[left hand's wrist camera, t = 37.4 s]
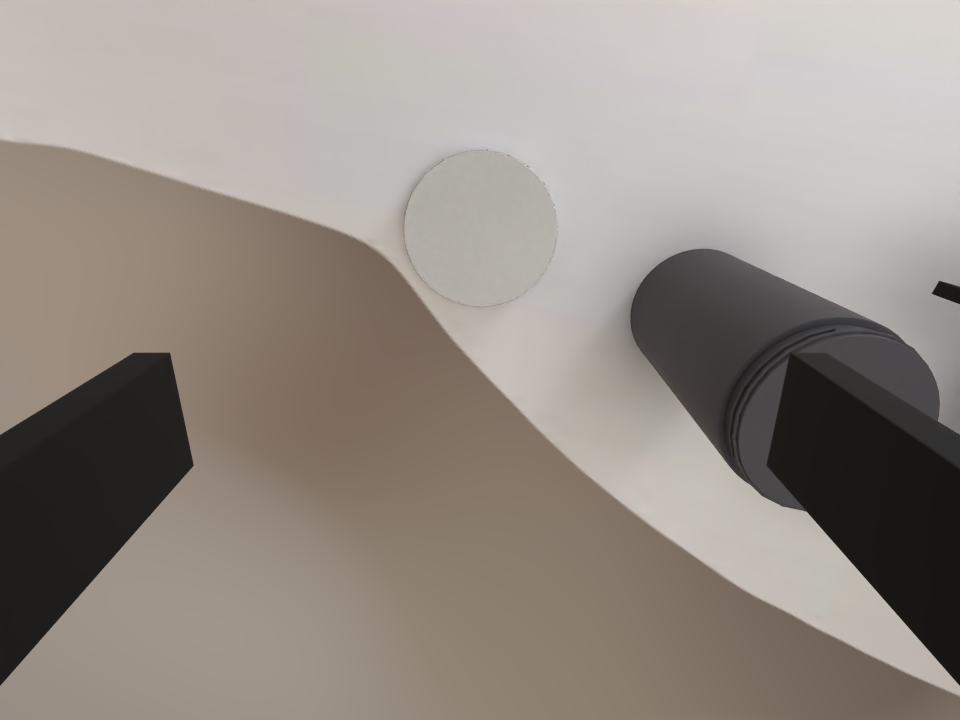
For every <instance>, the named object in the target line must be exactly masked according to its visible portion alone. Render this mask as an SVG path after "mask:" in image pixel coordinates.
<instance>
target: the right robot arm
mask: <svg viewBox="0 0 960 720" xmlns="http://www.w3.org/2000/svg"><path fill="white" fill-rule="evenodd" d="M932 294H934V295H937V296H939V297H942V298H945V299H947V300H950V301H953V302H956V303H958V304H960V287H959V286H956V285H952V284H949V283H945V282H941V281H939V282H938V284H937V286H936V287H935V289H934V291H933V293H932Z"/></svg>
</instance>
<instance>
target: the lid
mask: <svg viewBox="0 0 960 720" xmlns="http://www.w3.org/2000/svg"><path fill="white" fill-rule="evenodd" d="M510 156H511V155H509V154H508V156H507V155H504V154H502V153H497V152H493V151H488V149H487V150H486V151H483V150H479V151H469V152H466V151H464V153H460V154H457V155H454V156H452V157H450V158H448V159H446V160H445V158H444V159H443V161H442V162H440V163H439V164H438V165H436V166H435V167H433V168H432V169H431V170H430V171H429V172H426V173H425V176H424V177H423V178H422V179H421V181H420V182H419V183H418V185H417V186H416V188H415V189H414V191H412V195H411V197H410V200H409V202H408V206H407V209H406V212H405V220H404V237H405V244H406V248H407V252H408V255H409V258H410V260H411V262H412V264H413V266H414V268H415V270H416V271H417V273H418V274H419V276H420V277H421V278H422V279H423V281H424V282H425V283H426V284H427V285H428V286H429V287H430V288H432V289H433V290H434V291H435V292H437V293H438V294H440V295H441V296H443V297H445V298H447V299H449V300H451V301H453V302H456V303H459V304H463V305H468V306H478V307H482V306H493V305H499V304H502V303H505V302H508V301H510V300H512V299H515V298H517V297H518V296H520V295H522V294H523V293H525V292H526V291H527V290H528V289H530V288H531V287H532V286H533V285H534V284H535V283H536V282H537V281H538V280H539V279H540V277H541V276H542V275H543V273H544V272H545V270H546V269H547V267H548V265H549V263H550V261H551V258H552V256H553V253H554V250H555V246H556V240H557V228H558V226H557V218H556V212H555V208H554V206H555V205H554V203H553V201H552V199H551V197H550V194H549V192H548V191H547V189H546V187H545V184H544V183H543V182H542V181H541V180H540V179H539V178H538V176H537V175H536V174H535V173H534V172H533V171H532V170H531V169H530V167H529V166H525V165H524V164H523V163H521V162H519V161H517V160H516V159H514V158H512V157H510Z"/></svg>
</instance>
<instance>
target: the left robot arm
mask: <svg viewBox="0 0 960 720" xmlns="http://www.w3.org/2000/svg"><path fill="white" fill-rule="evenodd" d="M766 466H767V467H768V468H769V469H770V470H771V471H772V473H773V474H774V475H775V476H776V477H777V478H778V479H779V480H780V482H781V483H782V484H783V485H784V486H785V487H786V488H787V490H788V491H789V492H790V493H791V494H792V495H793V496H794V498H795V499H796V500H797V501H798V502H799V503H800V504H801V506H802V507H803V508H804V509H805V510H806V511H807V512H808V513H809V515H810V516H811V517H812V518H813V519H814V520H815V521H816V523H817V524H818V525H819V526H820V527H821V528H822V529H823V531H824V532H825V533H826V534H827V535H828V536H829V537H830V539H831V540H832V541H833V542H834V543H835V544H836V545H837V546H838V548H839V549H840V550H841V551H842V552H843V553H844V554H845V556H846V557H847V558H848V559H849V560H850V561H851V562H852V564H853V565H854V566H855V567H856V568H857V569H858V570H859V572H860V573H861V574H862V575H863V576H864V577H865V578H866V579H867V581H868V582H869V583H870V584H871V585H872V586H873V587H874V589H875V590H876V591H877V592H878V593H879V594H880V595H881V597H882V598H883V599H884V600H885V601H886V602H887V603H888V605H889V606H890V607H891V608H892V609H893V610H894V611H895V612H896V614H897V615H898V616H899V617H900V618H901V619H902V620H903V622H904V623H905V624H906V625H907V626H908V627H909V628H910V630H911V631H912V632H913V633H914V634H915V635H916V636H917V638H918V639H919V640H920V641H921V642H922V643H923V644H924V645H925V647H926V648H927V649H928V650H929V651H930V652H931V653H932V655H933V656H934V657H935V658H936V659H937V660H938V661H939V663H940V664H941V665H942V666H943V667H944V668H945V669H946V671H947V672H948V673H949V674H950V675H951V676H952V677H953V678H954V680H955V681H956V682H957V683H958V684H959V685H960V435H959V434H957V433H956V432H954V431H952V430H951V429H949V428H948V427H946V426H944V425H943V424H941V423H939V422H938V421H936V420H935V419H933V418H931V417H930V416H928V415H926V414H925V413H923V412H922V411H920V410H918V409H917V408H915V407H913V406H912V405H910V404H909V403H907V402H905V401H904V400H902V399H900V398H899V397H897V396H896V395H894V394H892V393H891V392H889V391H887V390H886V389H884V388H883V387H881V386H879V385H878V384H876V383H874V382H873V381H871V380H870V379H868V378H866V377H865V376H863V375H861V374H860V373H858V372H857V371H855V370H853V369H852V368H850V367H848V366H847V365H845V364H844V363H842V362H840V361H839V360H837V359H835V358H834V357H832V356H831V355H829V354H827V353H790V355H789V360H788V365H787V370H786V374H785V379H784V384H783V389H782V393H781V398H780V403H779V408H778V412H777V417H776V422H775V427H774V431H773V436H772V441H771V446H770V451H769V455H768V460H767V465H766ZM192 467H193V460H192V455H191V451H190V446H189V441H188V436H187V432H186V427H185V422H184V417H183V412H182V408H181V403H180V398H179V393H178V389H177V384H176V379H175V374H174V370H173V365H172V360H171V355H170V353H133V354H131V355H129V356H128V357H126V358H125V359H123V360H121V361H120V362H118V363H117V364H115V365H113V366H112V367H110V368H108V369H107V370H105V371H103V372H102V373H100V374H99V375H97V376H95V377H94V378H92V379H90V380H89V381H87V382H86V383H84V384H82V385H81V386H79V387H77V388H76V389H74V390H73V391H71V392H69V393H68V394H66V395H65V396H63V397H61V398H60V399H58V400H56V401H55V402H53V403H51V404H50V405H48V406H47V407H45V408H43V409H42V410H40V411H39V412H37V413H35V414H34V415H32V416H30V417H29V418H27V419H25V420H24V421H22V422H21V423H19V424H17V425H16V426H14V427H12V428H11V429H9V430H8V431H6V432H4V433H3V434H1V435H0V685H1V684H2V683H3V682H4V681H5V680H6V678H7V677H8V676H9V675H10V674H11V673H12V672H13V671H14V669H15V668H16V667H17V666H18V665H19V664H20V663H21V661H22V660H23V659H24V658H25V657H26V656H27V655H28V653H29V652H30V651H31V650H32V649H33V648H34V647H35V645H36V644H37V643H38V642H39V641H40V640H41V639H42V637H43V636H44V635H45V634H46V633H47V632H48V631H49V630H50V628H51V627H52V626H53V625H54V624H55V623H56V622H57V620H58V619H59V618H60V617H61V616H62V615H63V614H64V612H65V611H66V610H67V609H68V608H69V607H70V606H71V605H72V603H73V602H74V601H75V600H76V599H77V598H78V597H79V595H80V594H81V593H82V592H83V591H84V590H85V589H86V587H87V586H88V585H89V584H90V583H91V582H92V581H93V579H94V578H95V577H96V576H97V575H98V574H99V573H100V572H101V570H102V569H103V568H104V567H105V566H106V565H107V564H108V562H109V561H110V560H111V559H112V558H113V557H114V556H115V554H116V553H117V552H118V551H119V550H120V549H121V548H122V546H123V545H124V544H125V543H126V542H127V541H128V540H129V539H130V537H131V536H132V535H133V534H134V533H135V532H136V531H137V529H138V528H139V527H140V526H141V525H142V524H143V523H144V521H145V520H146V519H147V518H148V517H149V516H150V515H151V513H152V512H153V511H154V510H155V509H156V508H157V507H158V506H159V504H160V503H161V502H162V501H163V500H164V499H165V498H166V496H167V495H168V494H169V493H170V492H171V491H172V490H173V488H174V487H175V486H176V485H177V484H178V483H179V482H180V480H181V479H182V478H183V477H184V476H185V475H186V474H187V472H188V471H189V470H190V469H191V468H192Z"/></svg>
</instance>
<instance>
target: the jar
mask: <svg viewBox="0 0 960 720" xmlns="http://www.w3.org/2000/svg"><path fill="white" fill-rule="evenodd" d="M631 328H632V332H633V336H634V339H635V341H636V343H637V345H638V346H639V348H640V350H641V351H642V352H643V354H644V355H645V356H646V358H647V359H648V360H649V361H650V363H651V364H652V365H653V367H654V368H655V369H656V371H657V372H658V373H659V375H660V376H661V377H662V379H663V380H664V381H665V382H666V384H667V385H668V386H669V388H670V389H671V390H672V392H673V393H674V394H675V396H676V397H677V398H678V399H679V401H680V402H681V403H682V405H683V406H684V407H685V409H686V410H687V411H688V413H689V414H690V415H691V416H692V418H693V419H694V420H695V422H696V423H697V424H698V426H699V427H700V428H701V430H702V431H703V432H704V433H705V435H706V436H707V437H708V439H709V440H710V441H711V443H712V444H713V445H714V447H715V448H716V449H717V450H718V452H719V453H720V454H721V456H722V457H723V458H724V460H725V461H726V462H727V464H728V465H729V466H730V467H731V469H732V470H733V471H734V472H735V473H736V474H737V475H738V476H739V477H740V478H742V479H743V480H744V481H745V482H747V483H749V484H750V485H751V486H752V487H753V488H754V489H755V490H757V491H758V492H759V493H760V494H761V495H762V496H763V497H765V498H767V499H769V500H771V501H773V502H775V503H777V504H779V505H781V506H783V507H788V508H793V509H798V510H803V511H806V510H805V509H804V508H803V507H802V506H801V504H800V503H799V502H798V501H797V500H796V499H795V498H794V496H793V495H792V494H791V493H790V492H789V491H788V490H787V488H786V487H785V486H784V485H783V484H782V483H781V482H780V480H779V479H778V478H777V477H776V476H775V475H774V474H773V473H772V471H771V470H770V469H769V468H768V467H767V466H766V465H767V460H768V455H769V451H770V446H771V441H772V436H773V431H774V427H775V422H776V417H777V412H778V408H779V403H780V398H781V393H782V389H783V384H784V379H785V374H786V370H787V365H788V360H789V355H790V353H827V354H829V355H831V356H832V357H834V358H835V359H837V360H839V361H840V362H842V363H844V364H845V365H847V366H848V367H850V368H852V369H853V370H855V371H857V372H858V373H860V374H861V375H863V376H865V377H866V378H868V379H870V380H871V381H873V382H874V383H876V384H878V385H879V386H881V387H883V388H884V389H886V390H887V391H889V392H891V393H892V394H894V395H896V396H897V397H899V398H900V399H902V400H904V401H905V402H907V403H909V404H910V405H912V406H913V407H915V408H917V409H918V410H920V411H922V412H923V413H925V414H926V415H928V416H930V417H931V418H933V419H935V420H936V421H938V416H939V405H940V402H939V391H938V388H937V384H936V381H935V378H934V376H933V374H932V372H931V370H930V369H929V366H928V365H927V364H926V363H925V361H924V360H923V359H922V358H921V357H920V355H919V354H918V353H917V352H916V351H915V349H914V348H912V347H911V346H909V345H907V344H906V343H905V342H904V341H903V340H902V339H901V338H900V337H899V336H898V335H897V334H895V333H894V332H893V331H891V330H890V329H888V328H886V327H884V326H882V325H880V324H878V323H876V322H874V321H872V320H870V319H868V318H865V317H863V316H861V315H859V314H857V313H855V312H852V311H850V310H848V309H846V308H844V307H842V306H839V305H837V304H835V303H833V302H831V301H829V300H826V299H824V298H822V297H820V296H818V295H816V294H813V293H811V292H809V291H807V290H805V289H803V288H800V287H798V286H796V285H794V284H792V283H790V282H787V281H785V280H783V279H781V278H779V277H777V276H774V275H772V274H770V273H768V272H766V271H764V270H761V269H759V268H757V267H755V266H753V265H751V264H748V263H746V262H744V261H742V260H740V259H738V258H735V257H733V256H731V255H729V254H727V253H724V252H721V251H717V250H711V249H697V250H690V251H686V252H682V253H679V254H677V255H674V256H672V257H670V258H668V259H667V260H665V261H664V262H662V263H660V264H659V265H658V266H657V267H656V268H654V269H653V270H652V271H651V272H650V273H649V274H648V275H647V277H646V278H645V279H644V281H643V282H642V283H641V285H640V287H639V289H638V290H637V293H636V295H635V298H634V301H633V304H632V309H631Z"/></svg>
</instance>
